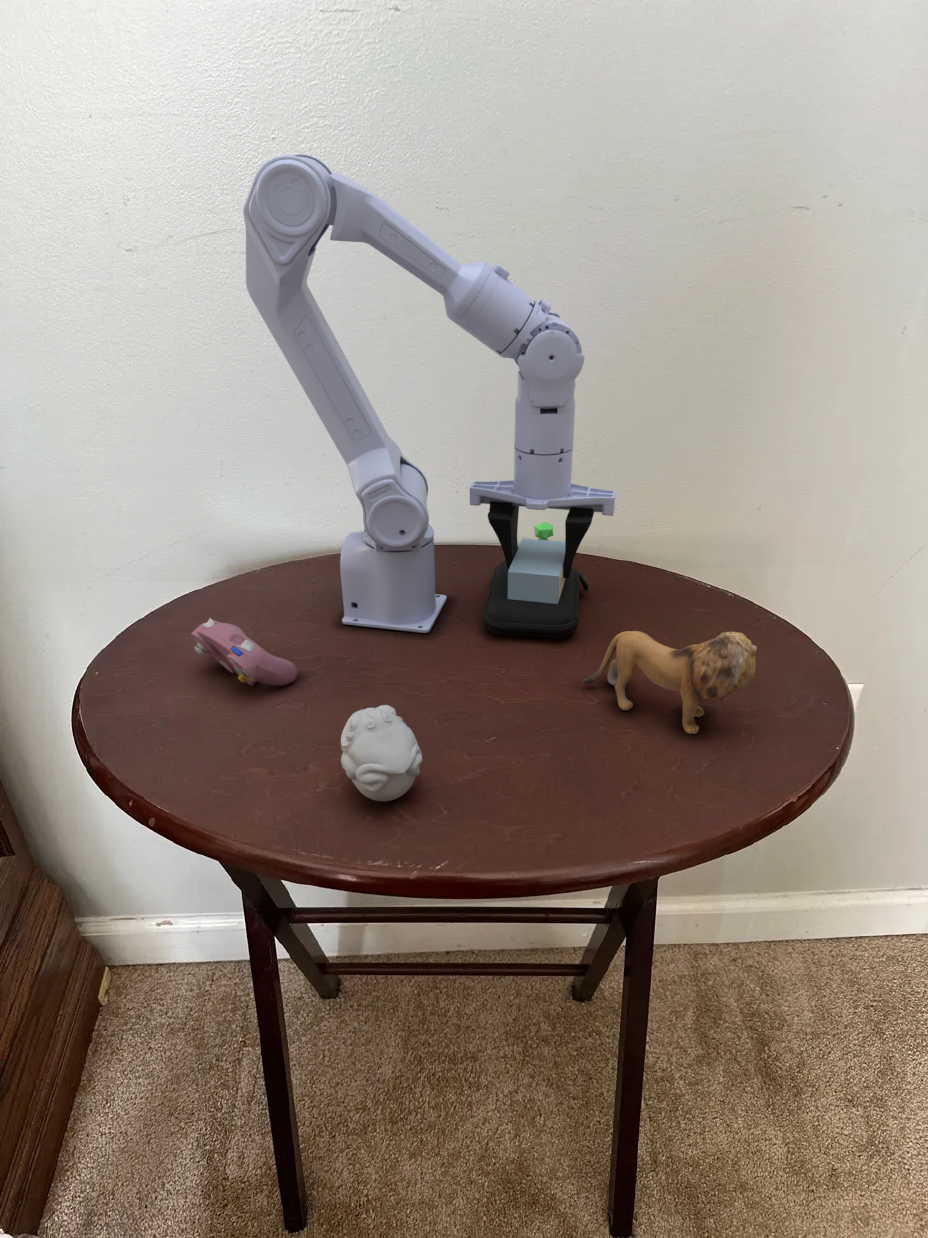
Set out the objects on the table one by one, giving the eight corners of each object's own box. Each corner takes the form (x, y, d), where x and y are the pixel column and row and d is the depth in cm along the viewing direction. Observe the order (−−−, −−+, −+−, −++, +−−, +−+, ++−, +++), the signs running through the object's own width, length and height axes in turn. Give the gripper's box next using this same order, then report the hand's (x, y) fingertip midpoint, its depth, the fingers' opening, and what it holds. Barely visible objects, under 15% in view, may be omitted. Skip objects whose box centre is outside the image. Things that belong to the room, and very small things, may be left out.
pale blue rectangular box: (507, 599, 87) (507, 571, 86) (521, 564, 94) (522, 538, 93) (558, 604, 86) (559, 576, 85) (568, 568, 93) (570, 542, 92)
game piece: (564, 564, 102) (567, 517, 99) (555, 579, 98) (557, 531, 95) (530, 558, 103) (531, 512, 100) (519, 573, 99) (520, 526, 96)
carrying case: (586, 646, 85) (587, 581, 97) (588, 620, 83) (589, 557, 96) (480, 640, 86) (495, 576, 99) (480, 613, 85) (495, 552, 97)
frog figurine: (396, 754, 70) (392, 683, 67) (440, 802, 65) (438, 727, 61) (329, 780, 67) (321, 708, 64) (369, 833, 62) (363, 756, 59)
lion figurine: (750, 716, 74) (767, 626, 70) (736, 749, 70) (753, 656, 66) (591, 673, 80) (598, 588, 76) (570, 702, 76) (575, 614, 72)
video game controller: (212, 673, 84) (172, 630, 79) (244, 639, 86) (207, 595, 81) (272, 712, 78) (233, 668, 73) (305, 675, 80) (269, 629, 75)
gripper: (461, 454, 81) (463, 582, 88) (615, 464, 78) (605, 595, 85) (477, 433, 87) (478, 553, 94) (620, 441, 84) (611, 565, 91)
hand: (539, 571), depth 90 cm, fingers closed on pale blue rectangular box, 5 cm apart
